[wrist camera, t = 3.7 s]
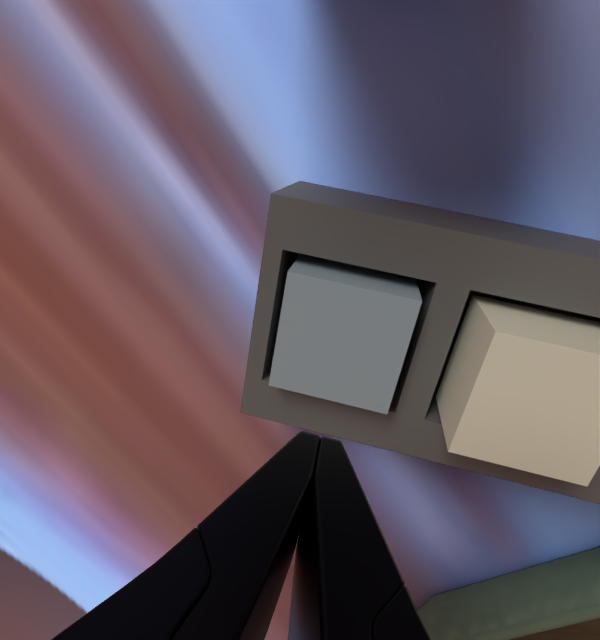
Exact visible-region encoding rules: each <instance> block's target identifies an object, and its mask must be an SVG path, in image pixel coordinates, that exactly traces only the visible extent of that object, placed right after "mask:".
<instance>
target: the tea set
mask: <svg viewBox="0 0 600 640" xmlns="http://www.w3.org/2000/svg"><path fill="white" fill-rule="evenodd" d="M418 614H419V616H420V618H421V620H422V622H423V624H424V626H425V628H426V630H427V632H428V634H429V636H430V639H431V640H600V547H597V548H594V549H590V550H587V551H584V552H580V553H577V554H573V555H570V556H567V557H563V558H560V559H557V560H553V561H550V562H546V563H543V564H540V565H536V566H533V567H529V568H526V569H523V570H519V571H516V572H512V573H509V574H506V575H502V576H499V577H495V578H492V579H489V580H485V581H482V582H478V583H475V584H472V585H468V586H465V587H461V588H458V589H455V590H451V591H448V592H444V593H441V594H438V595H434V596H433V597H432V598H431V599H430V600H429V601H428V602H426V603H425V604H424V605H423V606H422V607H421V608H420V609H419V610H418Z"/></svg>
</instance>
